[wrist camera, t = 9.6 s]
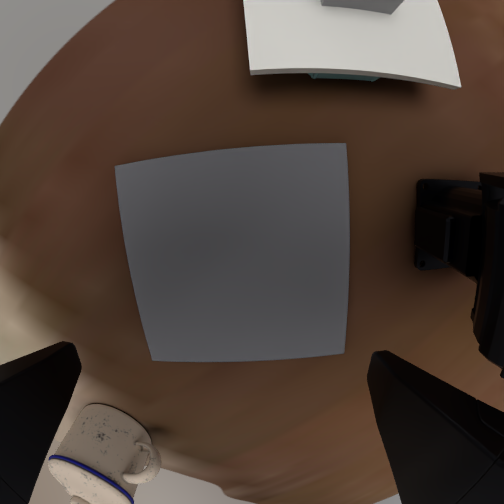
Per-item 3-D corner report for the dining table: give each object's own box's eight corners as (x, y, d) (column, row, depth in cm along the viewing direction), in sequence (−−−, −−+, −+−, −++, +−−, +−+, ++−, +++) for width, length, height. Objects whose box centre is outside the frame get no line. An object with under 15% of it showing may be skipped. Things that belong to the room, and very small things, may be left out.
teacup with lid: (111, 452, 27) (80, 520, 16) (67, 401, 25) (20, 471, 14) (192, 451, 26) (171, 540, 14) (147, 394, 23) (102, 495, 12)
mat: (343, 143, 17) (345, 143, 17) (342, 349, 21) (343, 353, 21) (118, 166, 18) (114, 166, 18) (154, 357, 22) (152, 360, 22)
